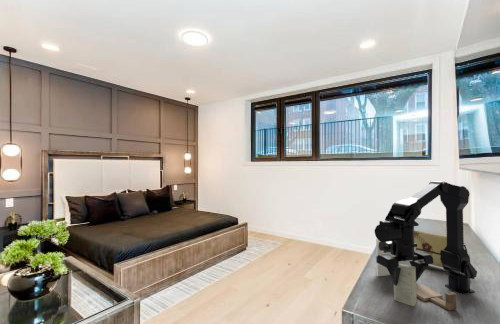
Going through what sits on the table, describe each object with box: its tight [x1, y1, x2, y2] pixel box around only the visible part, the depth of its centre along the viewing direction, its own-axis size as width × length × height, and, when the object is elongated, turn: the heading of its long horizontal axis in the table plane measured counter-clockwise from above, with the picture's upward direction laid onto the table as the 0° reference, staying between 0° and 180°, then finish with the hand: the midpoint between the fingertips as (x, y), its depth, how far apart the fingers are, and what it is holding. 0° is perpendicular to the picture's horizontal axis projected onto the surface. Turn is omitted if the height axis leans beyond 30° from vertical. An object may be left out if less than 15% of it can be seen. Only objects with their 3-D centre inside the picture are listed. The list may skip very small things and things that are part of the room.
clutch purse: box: [414, 229, 468, 274], centre depth 116 cm, size 30×7×15 cm, turn 39°
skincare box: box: [393, 263, 418, 307], centre depth 86 cm, size 6×4×12 cm
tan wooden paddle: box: [416, 284, 457, 312], centre depth 87 cm, size 8×15×5 cm, turn 13°
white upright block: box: [375, 238, 416, 277], centre depth 102 cm, size 11×9×16 cm
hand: (404, 283), depth 86 cm, fingers open, 8 cm apart
